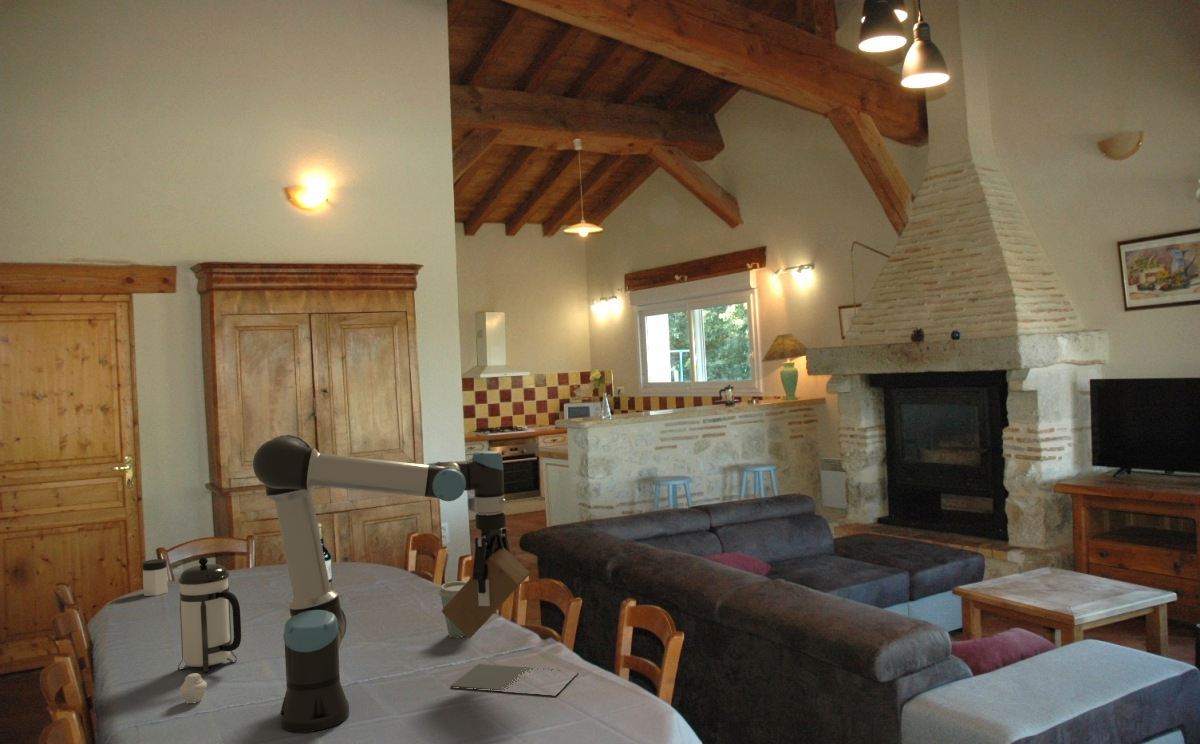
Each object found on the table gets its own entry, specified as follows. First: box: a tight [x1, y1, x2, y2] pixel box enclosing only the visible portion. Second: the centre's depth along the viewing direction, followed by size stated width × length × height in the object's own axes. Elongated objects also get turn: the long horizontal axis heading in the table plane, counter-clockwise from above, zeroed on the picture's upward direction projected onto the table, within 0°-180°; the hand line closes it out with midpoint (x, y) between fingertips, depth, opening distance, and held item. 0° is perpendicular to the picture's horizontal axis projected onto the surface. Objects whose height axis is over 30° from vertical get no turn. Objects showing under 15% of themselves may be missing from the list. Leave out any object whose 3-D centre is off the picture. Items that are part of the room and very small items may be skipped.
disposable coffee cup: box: [438, 580, 468, 638], centre depth 261 cm, size 11×11×15 cm
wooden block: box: [441, 547, 530, 639], centre depth 222 cm, size 10×10×20 cm
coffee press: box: [177, 556, 242, 674], centre depth 242 cm, size 17×16×30 cm
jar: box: [141, 558, 168, 597], centre depth 328 cm, size 9×8×12 cm
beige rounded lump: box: [179, 672, 208, 704], centre depth 215 cm, size 6×6×7 cm
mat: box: [449, 663, 558, 690], centre depth 220 cm, size 16×28×1 cm, turn 72°
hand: (494, 599), depth 222 cm, fingers closed on wooden block, 11 cm apart
